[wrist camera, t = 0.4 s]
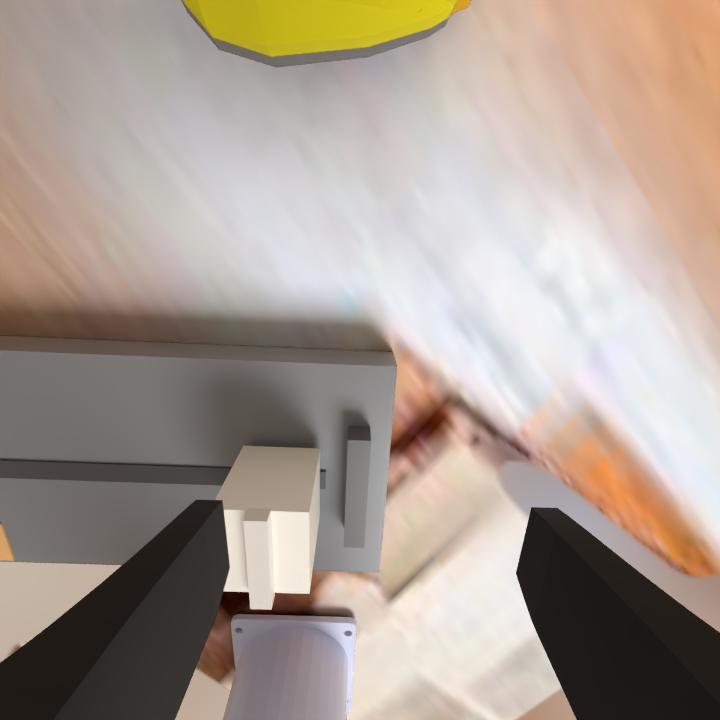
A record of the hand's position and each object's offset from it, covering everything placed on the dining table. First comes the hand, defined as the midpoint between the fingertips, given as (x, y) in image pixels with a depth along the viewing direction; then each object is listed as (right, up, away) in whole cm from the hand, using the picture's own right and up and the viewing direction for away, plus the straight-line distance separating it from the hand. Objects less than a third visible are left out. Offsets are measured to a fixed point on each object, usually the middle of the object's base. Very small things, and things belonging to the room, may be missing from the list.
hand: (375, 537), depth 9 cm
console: (-13, 0, +11) cm, 17 cm away
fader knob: (-4, -2, +9) cm, 10 cm away
